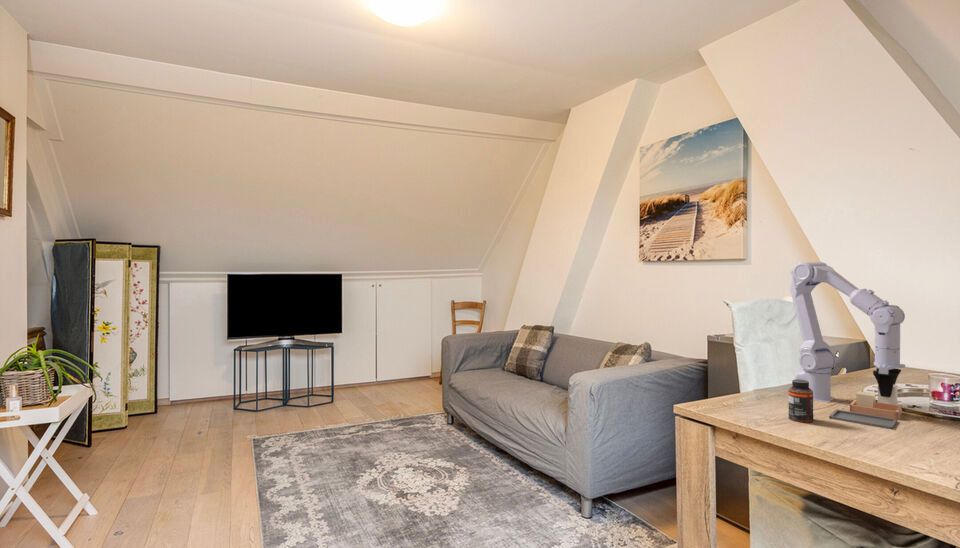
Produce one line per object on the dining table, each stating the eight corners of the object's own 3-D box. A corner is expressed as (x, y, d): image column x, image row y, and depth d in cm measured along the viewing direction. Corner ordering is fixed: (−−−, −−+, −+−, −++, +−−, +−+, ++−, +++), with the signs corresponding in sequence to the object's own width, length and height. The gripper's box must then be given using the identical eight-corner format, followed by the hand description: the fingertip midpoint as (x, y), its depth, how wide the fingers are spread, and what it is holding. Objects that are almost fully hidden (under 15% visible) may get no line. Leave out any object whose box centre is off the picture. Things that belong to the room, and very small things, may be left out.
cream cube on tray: (877, 402, 149) (877, 385, 149) (879, 399, 152) (880, 382, 152) (895, 405, 146) (895, 387, 146) (897, 402, 149) (897, 384, 149)
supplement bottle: (810, 418, 147) (810, 379, 147) (816, 425, 141) (816, 384, 141) (786, 417, 149) (786, 377, 149) (791, 423, 143) (791, 382, 143)
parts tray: (829, 419, 146) (829, 416, 146) (835, 412, 152) (836, 409, 152) (892, 430, 136) (892, 427, 136) (896, 422, 143) (896, 419, 142)
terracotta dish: (849, 413, 152) (849, 404, 152) (855, 406, 158) (855, 398, 158) (897, 421, 144) (897, 412, 144) (901, 414, 150) (901, 405, 150)
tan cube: (856, 410, 153) (856, 393, 152) (858, 407, 155) (858, 391, 155) (873, 413, 150) (873, 396, 150) (875, 410, 153) (875, 393, 152)
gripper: (902, 353, 141) (901, 402, 141) (908, 346, 151) (907, 392, 151) (869, 350, 146) (869, 398, 146) (877, 343, 156) (877, 388, 156)
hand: (886, 395), depth 149 cm, fingers closed on cream cube on tray, 4 cm apart
